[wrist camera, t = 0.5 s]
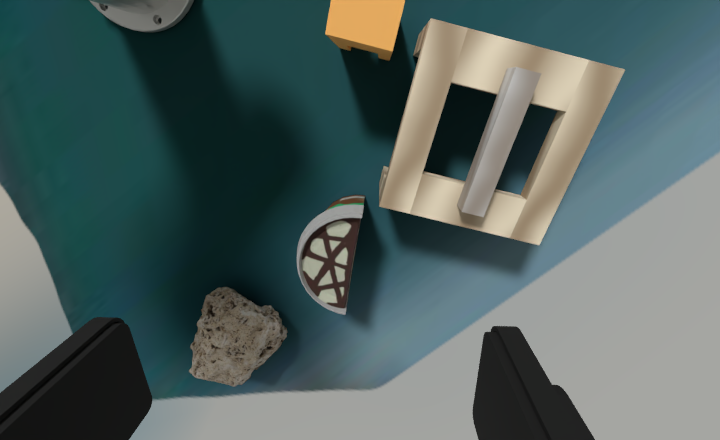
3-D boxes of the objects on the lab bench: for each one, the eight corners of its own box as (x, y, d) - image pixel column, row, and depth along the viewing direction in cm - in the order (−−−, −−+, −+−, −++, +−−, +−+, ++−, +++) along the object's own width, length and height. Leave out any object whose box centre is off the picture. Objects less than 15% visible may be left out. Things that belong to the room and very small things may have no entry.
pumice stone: (256, 368, 53) (236, 414, 45) (187, 330, 51) (154, 372, 43) (302, 308, 48) (288, 349, 41) (229, 264, 46) (199, 299, 39)
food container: (316, 175, 41) (297, 201, 31) (366, 183, 41) (363, 212, 31) (306, 264, 45) (287, 309, 36) (352, 271, 45) (344, 319, 36)
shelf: (379, 181, 40) (379, 213, 30) (418, 35, 35) (434, 13, 24) (506, 213, 41) (548, 254, 31) (566, 73, 35) (643, 68, 25)
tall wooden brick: (339, 47, 35) (325, 33, 26) (347, 4, 34) (335, -27, 25) (389, 60, 36) (392, 51, 26) (399, 18, 34) (407, -8, 25)
